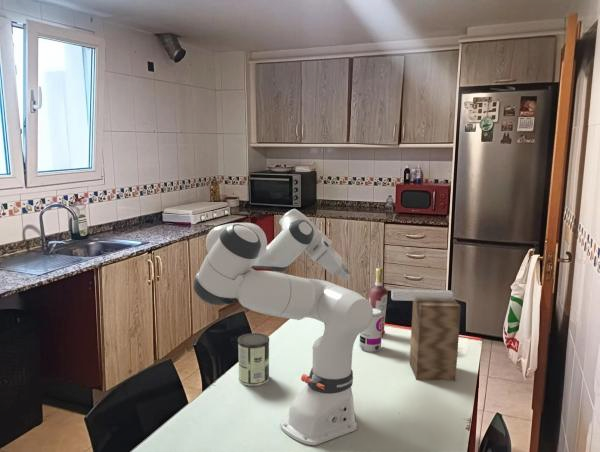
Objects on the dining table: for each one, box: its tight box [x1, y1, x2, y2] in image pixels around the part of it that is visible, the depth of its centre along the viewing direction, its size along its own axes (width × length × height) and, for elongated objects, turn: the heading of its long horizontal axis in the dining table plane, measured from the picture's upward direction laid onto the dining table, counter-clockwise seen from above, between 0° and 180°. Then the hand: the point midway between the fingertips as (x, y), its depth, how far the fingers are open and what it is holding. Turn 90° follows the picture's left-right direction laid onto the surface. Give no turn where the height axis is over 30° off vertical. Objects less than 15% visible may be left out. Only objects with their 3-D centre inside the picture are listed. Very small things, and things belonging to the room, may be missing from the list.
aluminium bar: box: [390, 288, 454, 302], centre depth 168 cm, size 20×3×3 cm, turn 89°
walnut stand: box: [409, 297, 462, 382], centre depth 170 cm, size 13×12×26 cm
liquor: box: [368, 267, 389, 336], centre depth 203 cm, size 7×7×28 cm
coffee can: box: [237, 332, 270, 387], centre depth 164 cm, size 10×10×14 cm
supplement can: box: [358, 308, 383, 353], centre depth 191 cm, size 8×8×15 cm
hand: (348, 276), depth 168 cm, fingers open, 8 cm apart
